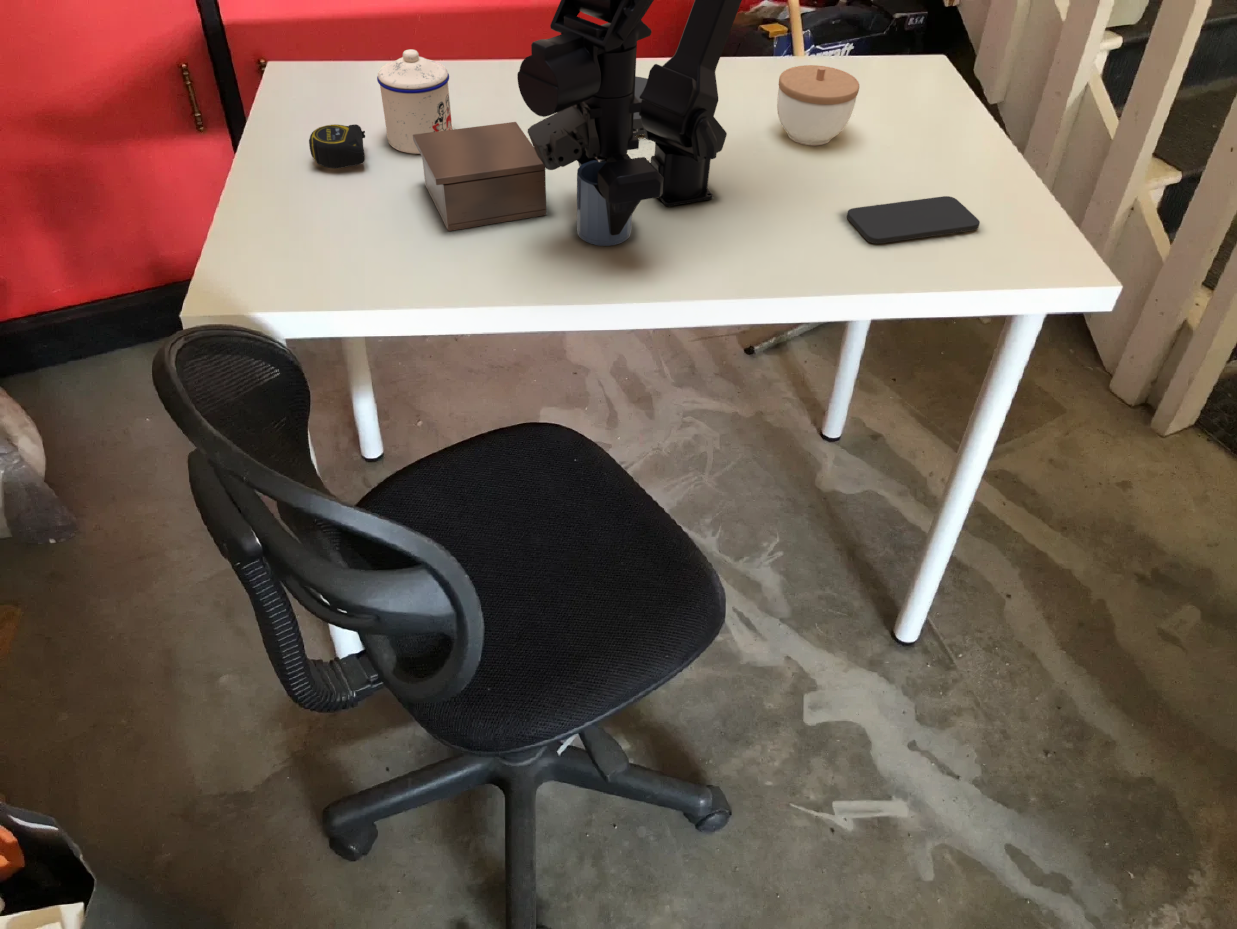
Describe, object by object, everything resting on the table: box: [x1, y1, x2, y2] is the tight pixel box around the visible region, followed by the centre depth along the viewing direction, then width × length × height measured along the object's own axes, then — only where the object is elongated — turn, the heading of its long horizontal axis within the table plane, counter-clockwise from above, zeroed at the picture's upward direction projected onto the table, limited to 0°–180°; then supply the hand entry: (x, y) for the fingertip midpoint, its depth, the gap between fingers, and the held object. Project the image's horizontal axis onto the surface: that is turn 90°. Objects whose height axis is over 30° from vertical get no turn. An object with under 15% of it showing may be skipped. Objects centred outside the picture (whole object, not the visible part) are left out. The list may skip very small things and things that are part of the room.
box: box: [421, 157, 547, 232], centre depth 113 cm, size 12×12×6 cm
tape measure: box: [308, 123, 366, 169], centre depth 119 cm, size 7×7×4 cm
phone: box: [846, 195, 981, 245], centre depth 114 cm, size 7×1×15 cm
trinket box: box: [776, 64, 860, 147], centre depth 128 cm, size 11×11×9 cm
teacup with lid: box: [376, 48, 453, 155], centre depth 123 cm, size 12×9×12 cm
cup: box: [576, 160, 633, 247], centre depth 108 cm, size 6×6×8 cm
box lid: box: [413, 121, 546, 185], centre depth 110 cm, size 13×12×1 cm
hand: (604, 219), depth 110 cm, fingers closed on cup, 6 cm apart
